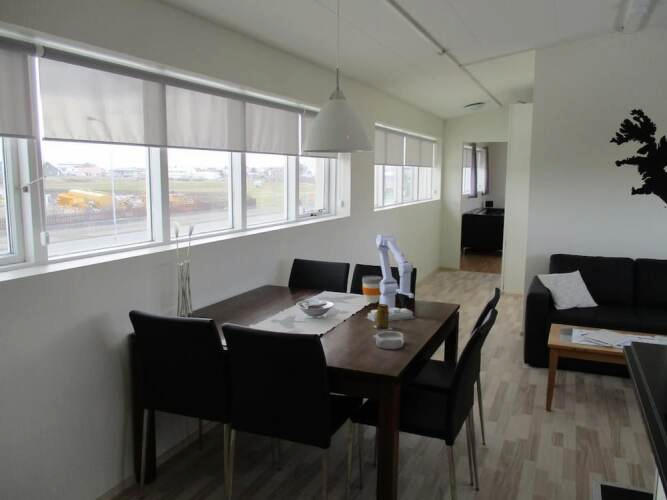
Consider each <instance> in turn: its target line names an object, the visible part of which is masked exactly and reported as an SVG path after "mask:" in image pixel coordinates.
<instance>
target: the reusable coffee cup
mask: <svg viewBox="0 0 667 500" xmlns="http://www.w3.org/2000/svg"><path fill="white" fill-rule="evenodd" d="M382 279H383V276H379V275H364V276H362V279H361V283H362V286H361V287H362V294H363V299H364V302H365V301H366V302H365V303H367V302H371V303H370V304H377V302H378V303H380V295H381V294H382V293H381V292H380V282H381V281H382Z"/></svg>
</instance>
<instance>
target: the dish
mask: <svg viewBox="0 0 667 500" xmlns="http://www.w3.org/2000/svg"><path fill="white" fill-rule="evenodd" d="M372 338H373V341H375V345H376V346H377V347H378V348H381V349H384V350H385V349H386V350H396V349H401V348H402V347H403V346H404V343H405V335H404V333H403V332H399V331H394V330H384V331H380V332H378V333H376V334H375V335H374V334H373V336H372Z"/></svg>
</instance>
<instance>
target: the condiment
mask: <svg viewBox="0 0 667 500" xmlns="http://www.w3.org/2000/svg"><path fill="white" fill-rule="evenodd" d="M376 310H377V323H375V324H376V325H372V327H373V328H375V329H378V330H379V331H392V330H393V328H392V327H390V326H389V321H388V320H389V319H388V318H389V311H388V305H387V304H379V303H378V304H377V309H376Z"/></svg>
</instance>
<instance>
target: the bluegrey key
mask: <svg viewBox="0 0 667 500" xmlns="http://www.w3.org/2000/svg"><path fill="white" fill-rule="evenodd" d="M401 309H402V308H399V307H395V308H390V312H391V313H393V314H394V313H400V312H401Z"/></svg>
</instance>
